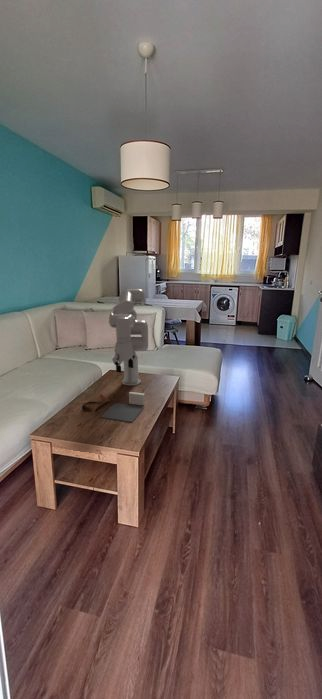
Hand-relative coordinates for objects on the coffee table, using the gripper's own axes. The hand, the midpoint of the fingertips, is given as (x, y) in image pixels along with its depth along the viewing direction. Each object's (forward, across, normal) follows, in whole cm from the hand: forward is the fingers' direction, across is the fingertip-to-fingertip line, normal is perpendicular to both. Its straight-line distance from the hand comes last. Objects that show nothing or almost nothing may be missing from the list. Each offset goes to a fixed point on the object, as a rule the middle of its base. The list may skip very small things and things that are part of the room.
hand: (124, 369), depth 181 cm
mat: (+22, +7, +4) cm, 23 cm away
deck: (+22, -6, +3) cm, 23 cm away
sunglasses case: (+22, +9, -14) cm, 28 cm away
